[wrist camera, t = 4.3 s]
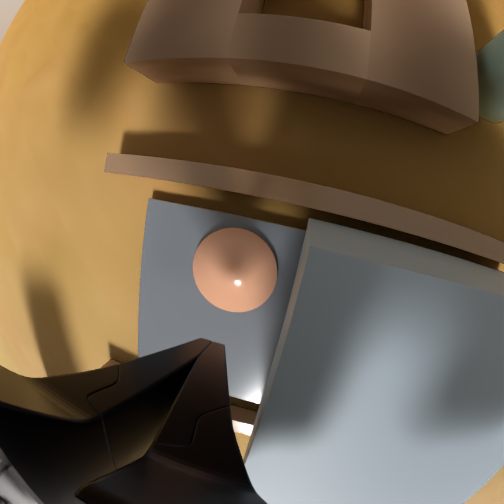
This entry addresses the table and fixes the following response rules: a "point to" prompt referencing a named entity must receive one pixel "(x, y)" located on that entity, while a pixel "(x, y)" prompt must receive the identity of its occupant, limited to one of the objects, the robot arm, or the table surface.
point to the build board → (322, 54)
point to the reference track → (243, 264)
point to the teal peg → (491, 79)
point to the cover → (382, 377)
